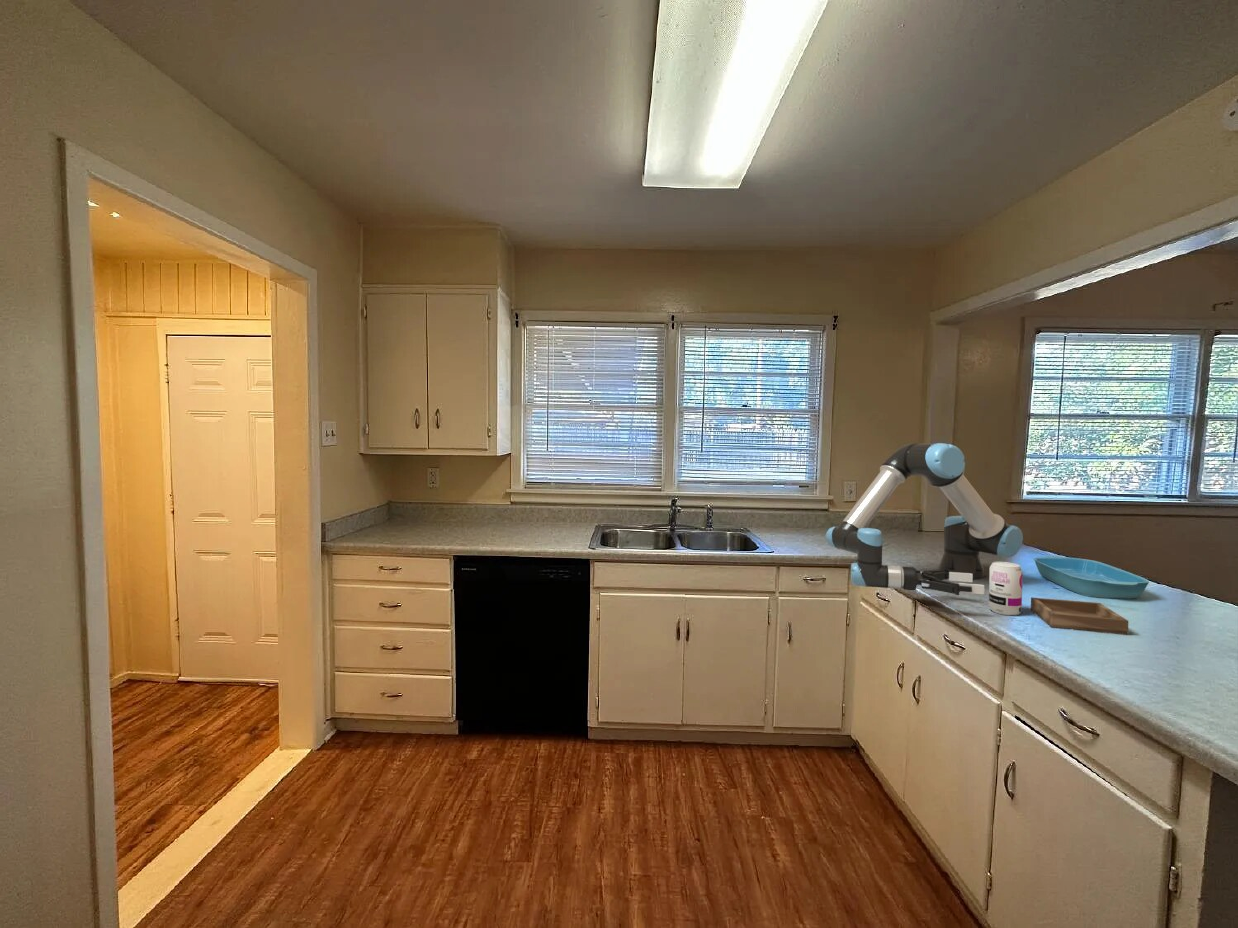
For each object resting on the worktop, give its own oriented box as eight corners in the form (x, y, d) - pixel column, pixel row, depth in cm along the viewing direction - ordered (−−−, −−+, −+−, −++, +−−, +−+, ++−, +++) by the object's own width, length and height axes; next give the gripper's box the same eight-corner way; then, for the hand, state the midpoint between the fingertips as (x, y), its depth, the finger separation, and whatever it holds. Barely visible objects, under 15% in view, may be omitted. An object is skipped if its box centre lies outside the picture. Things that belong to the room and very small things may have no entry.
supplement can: (1019, 609, 164) (1020, 562, 163) (1023, 617, 157) (1024, 568, 156) (987, 605, 168) (988, 560, 167) (990, 613, 161) (991, 565, 160)
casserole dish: (1165, 605, 167) (1166, 583, 166) (1084, 601, 171) (1085, 580, 171) (1087, 574, 203) (1088, 556, 202) (1022, 572, 207) (1023, 554, 207)
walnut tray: (1030, 609, 164) (1031, 597, 163) (1099, 615, 158) (1099, 602, 157) (1051, 627, 149) (1051, 613, 149) (1127, 634, 143) (1128, 620, 142)
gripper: (897, 579, 184) (967, 584, 176) (907, 600, 161) (989, 607, 153) (897, 558, 183) (968, 562, 176) (907, 576, 160) (989, 582, 152)
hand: (978, 583), depth 164 cm, fingers open, 13 cm apart
